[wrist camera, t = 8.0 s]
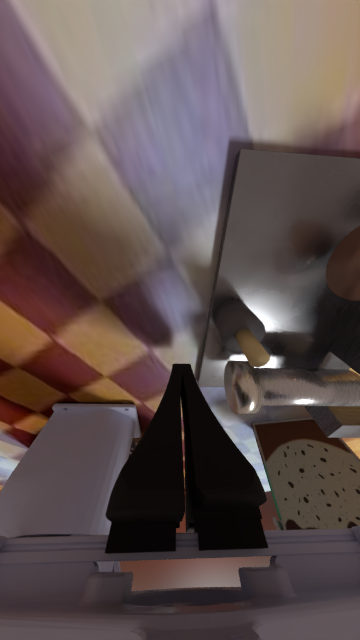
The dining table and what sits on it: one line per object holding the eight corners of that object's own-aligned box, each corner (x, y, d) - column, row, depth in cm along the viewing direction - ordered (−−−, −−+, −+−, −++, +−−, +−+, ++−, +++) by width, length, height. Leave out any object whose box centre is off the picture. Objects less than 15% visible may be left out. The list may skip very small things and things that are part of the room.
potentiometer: (210, 329, 11) (227, 377, 8) (216, 299, 10) (240, 338, 6) (243, 330, 12) (275, 377, 8) (252, 300, 10) (297, 340, 6)
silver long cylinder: (221, 379, 13) (234, 423, 10) (230, 350, 12) (249, 393, 8) (316, 381, 14) (357, 424, 11) (339, 353, 12) (396, 395, 9)
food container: (239, 441, 24) (274, 559, 15) (241, 423, 21) (286, 558, 12) (317, 434, 23) (401, 554, 14) (332, 414, 20) (450, 552, 11)
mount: (197, 381, 16) (205, 437, 11) (236, 155, 7) (331, 28, 3) (313, 383, 16) (362, 437, 12) (482, 174, 8) (891, 96, 3)
